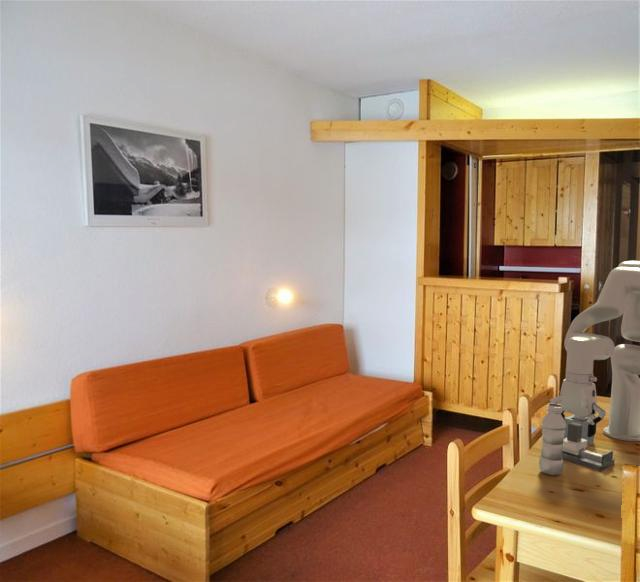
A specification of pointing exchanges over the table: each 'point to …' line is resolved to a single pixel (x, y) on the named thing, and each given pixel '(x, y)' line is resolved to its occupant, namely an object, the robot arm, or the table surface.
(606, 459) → the track
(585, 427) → the gauge cabinet
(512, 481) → the table surface
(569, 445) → the carriage
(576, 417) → the button
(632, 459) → the table surface
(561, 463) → the plastic bottle
